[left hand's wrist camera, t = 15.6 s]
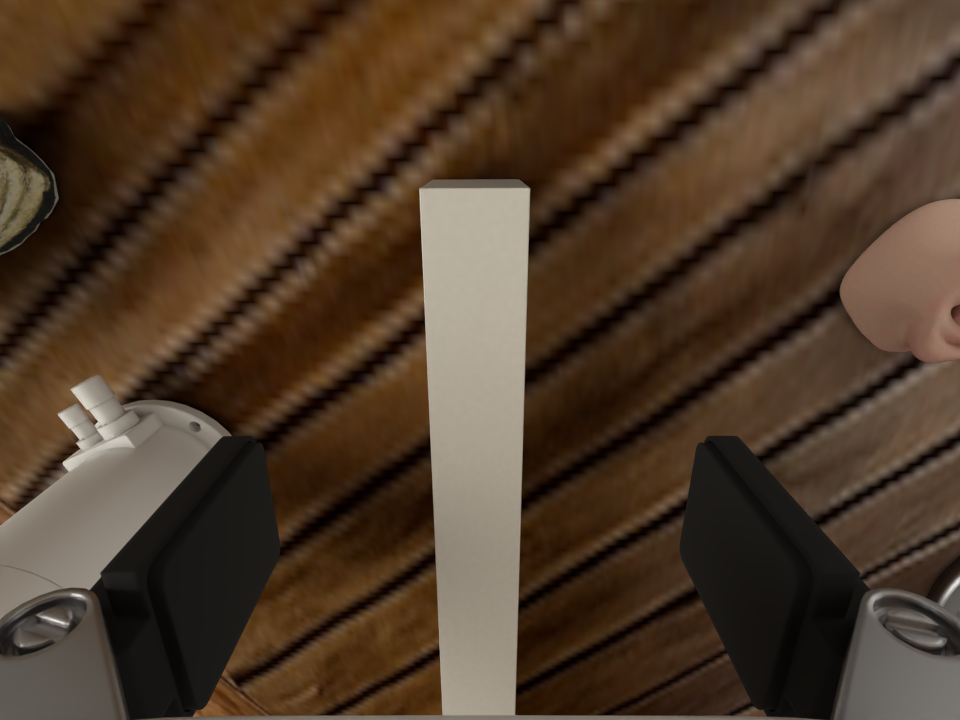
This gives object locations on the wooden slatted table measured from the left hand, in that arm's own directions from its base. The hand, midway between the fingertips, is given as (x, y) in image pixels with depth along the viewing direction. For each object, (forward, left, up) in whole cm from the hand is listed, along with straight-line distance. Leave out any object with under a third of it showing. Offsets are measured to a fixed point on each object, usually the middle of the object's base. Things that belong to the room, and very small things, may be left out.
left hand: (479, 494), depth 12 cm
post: (+30, -13, -27) cm, 42 cm away
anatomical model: (+14, +29, -27) cm, 42 cm away
